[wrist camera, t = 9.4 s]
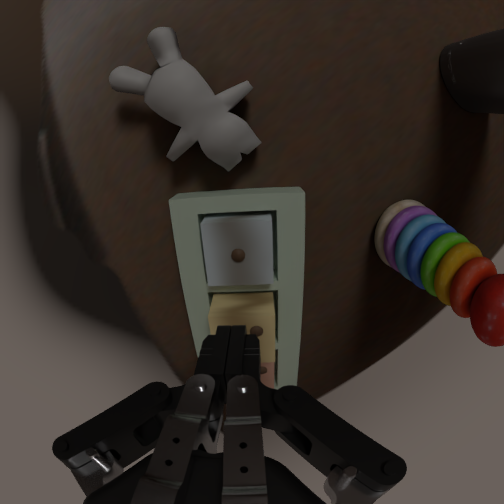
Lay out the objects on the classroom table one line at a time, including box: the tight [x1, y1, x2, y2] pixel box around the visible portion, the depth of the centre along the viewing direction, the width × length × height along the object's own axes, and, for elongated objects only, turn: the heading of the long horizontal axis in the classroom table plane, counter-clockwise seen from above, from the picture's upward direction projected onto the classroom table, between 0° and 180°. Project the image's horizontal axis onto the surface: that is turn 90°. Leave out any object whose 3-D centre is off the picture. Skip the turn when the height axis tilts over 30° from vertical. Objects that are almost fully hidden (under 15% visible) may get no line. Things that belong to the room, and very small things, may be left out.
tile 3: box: [261, 362, 274, 389], centre depth 32 cm, size 6×6×4 cm
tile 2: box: [208, 292, 275, 363], centre depth 27 cm, size 6×6×4 cm
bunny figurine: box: [109, 27, 262, 172], centre depth 21 cm, size 10×5×15 cm
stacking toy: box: [374, 200, 504, 347], centre depth 19 cm, size 8×8×19 cm
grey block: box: [200, 210, 274, 286], centre depth 26 cm, size 6×6×4 cm
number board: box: [169, 187, 305, 390], centre depth 30 cm, size 12×26×3 cm, turn 3°
